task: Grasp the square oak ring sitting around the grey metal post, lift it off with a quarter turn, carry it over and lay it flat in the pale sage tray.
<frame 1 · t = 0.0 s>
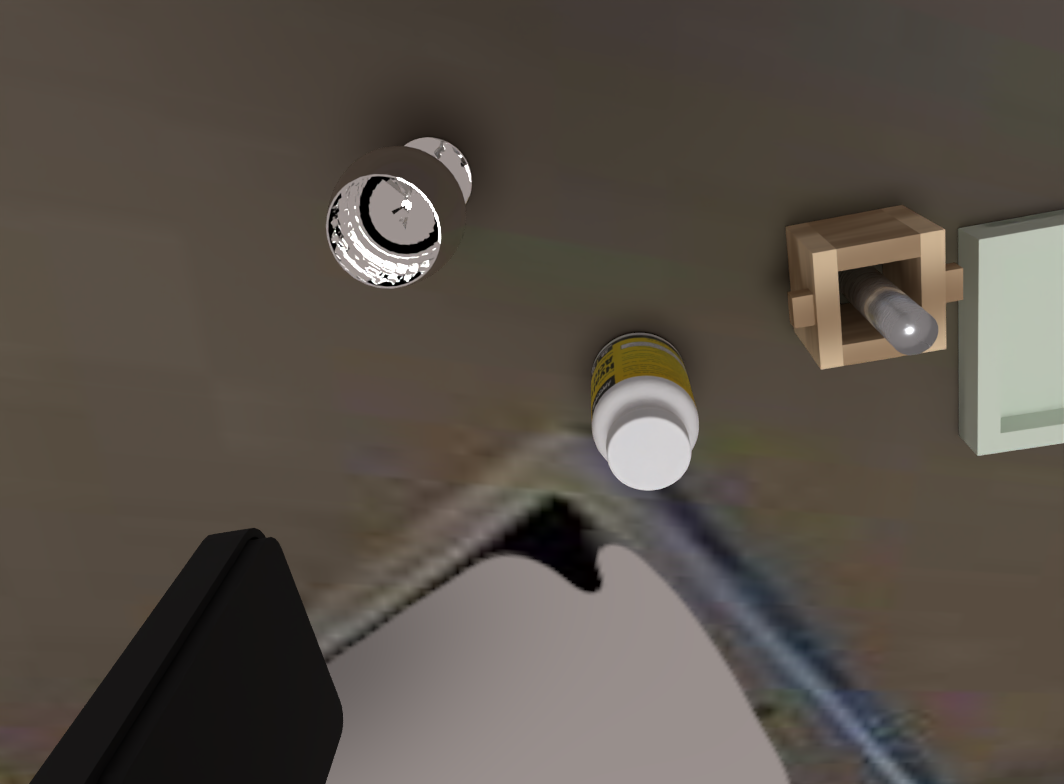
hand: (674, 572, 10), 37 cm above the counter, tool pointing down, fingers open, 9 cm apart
ring: (846, 270, 45), on the counter
supplement bottle: (636, 372, 49), on the counter
wineglass: (431, 179, 45), on the counter
post: (846, 270, 45), on the counter
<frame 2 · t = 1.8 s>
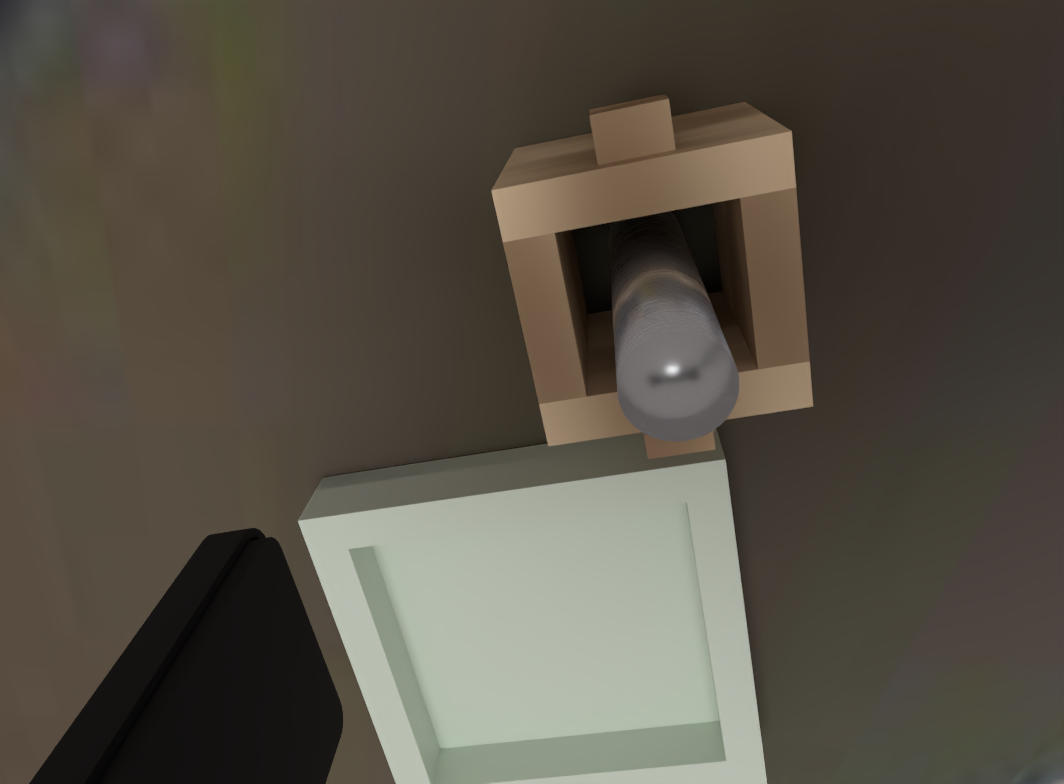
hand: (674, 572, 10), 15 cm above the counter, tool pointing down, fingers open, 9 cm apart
ring: (644, 237, 23), on the counter
tray: (550, 608, 28), on the counter
post: (644, 237, 23), on the counter
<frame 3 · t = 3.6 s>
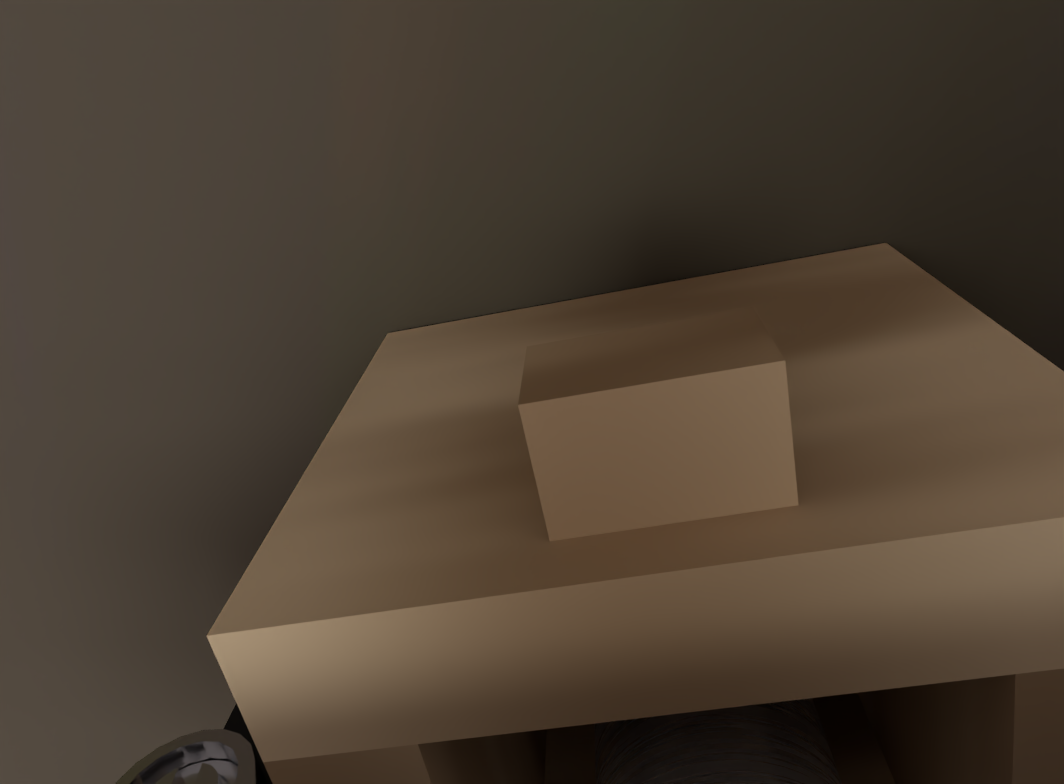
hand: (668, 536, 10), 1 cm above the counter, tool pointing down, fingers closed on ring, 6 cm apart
ring: (662, 502, 11), on the counter, touching gripper
post: (663, 502, 11), on the counter
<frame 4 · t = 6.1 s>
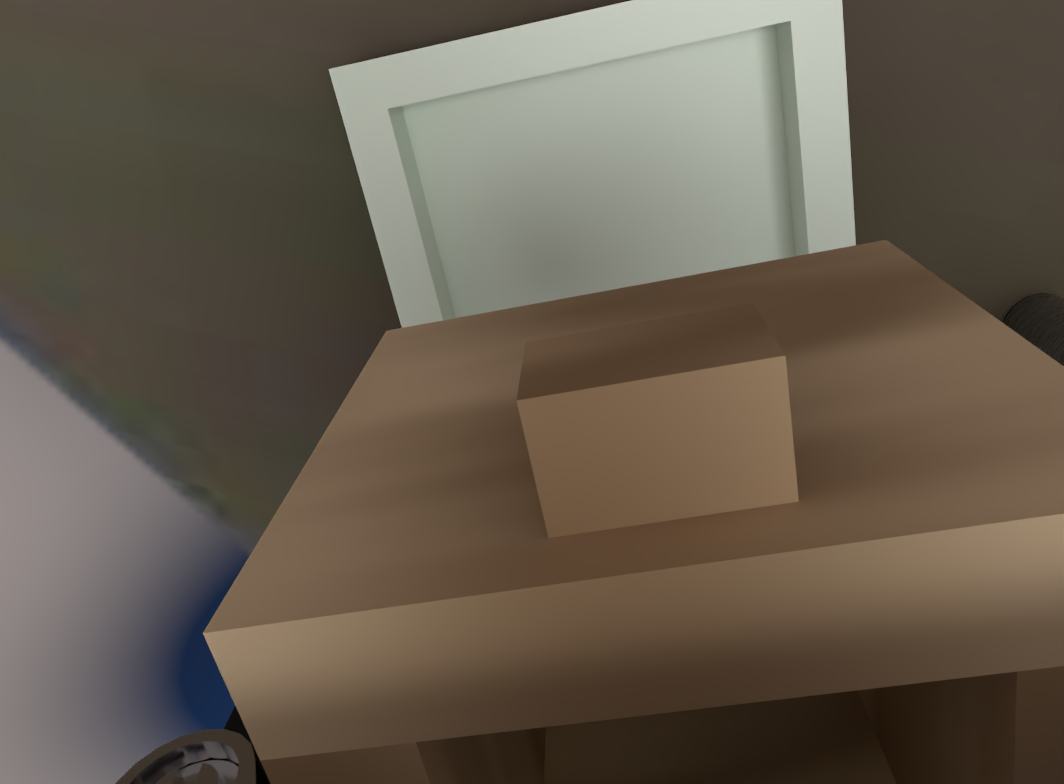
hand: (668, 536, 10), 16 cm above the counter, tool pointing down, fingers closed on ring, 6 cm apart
ring: (662, 500, 11), point 15 cm above the counter, touching gripper
tray: (613, 239, 25), on the counter
post: (1037, 325, 25), on the counter
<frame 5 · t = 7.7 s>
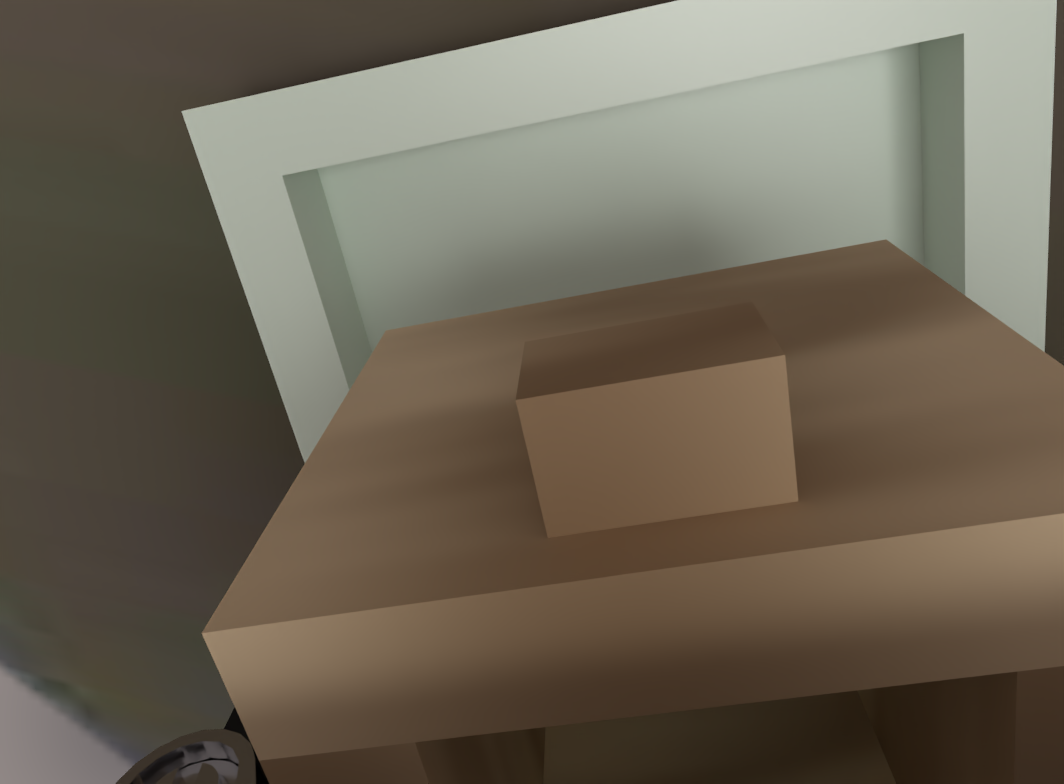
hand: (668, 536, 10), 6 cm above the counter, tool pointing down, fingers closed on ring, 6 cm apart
ring: (662, 500, 11), point 6 cm above the counter, touching gripper
tray: (644, 360, 16), on the counter
when the fingers open (3 cm above the counter, at t = 9.0 s): ring stays where it is, resting on tray.
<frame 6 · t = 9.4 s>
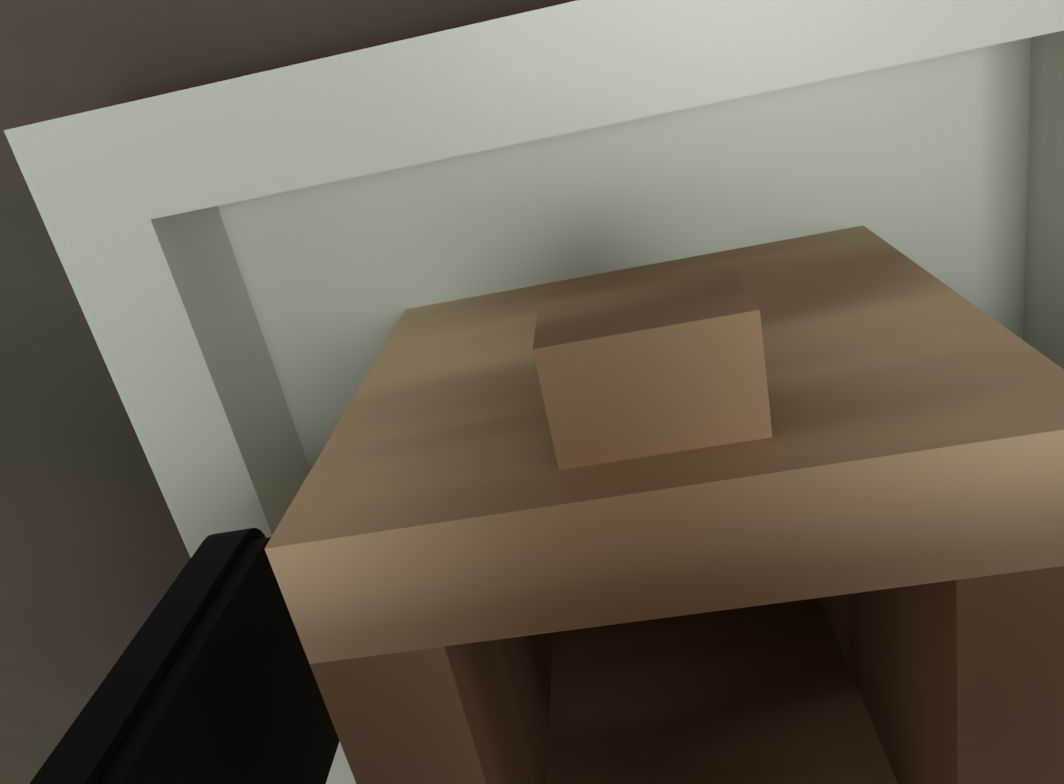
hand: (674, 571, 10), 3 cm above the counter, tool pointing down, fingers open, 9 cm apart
ring: (659, 467, 12), point 1 cm above the counter, touching tray
tray: (651, 441, 13), on the counter
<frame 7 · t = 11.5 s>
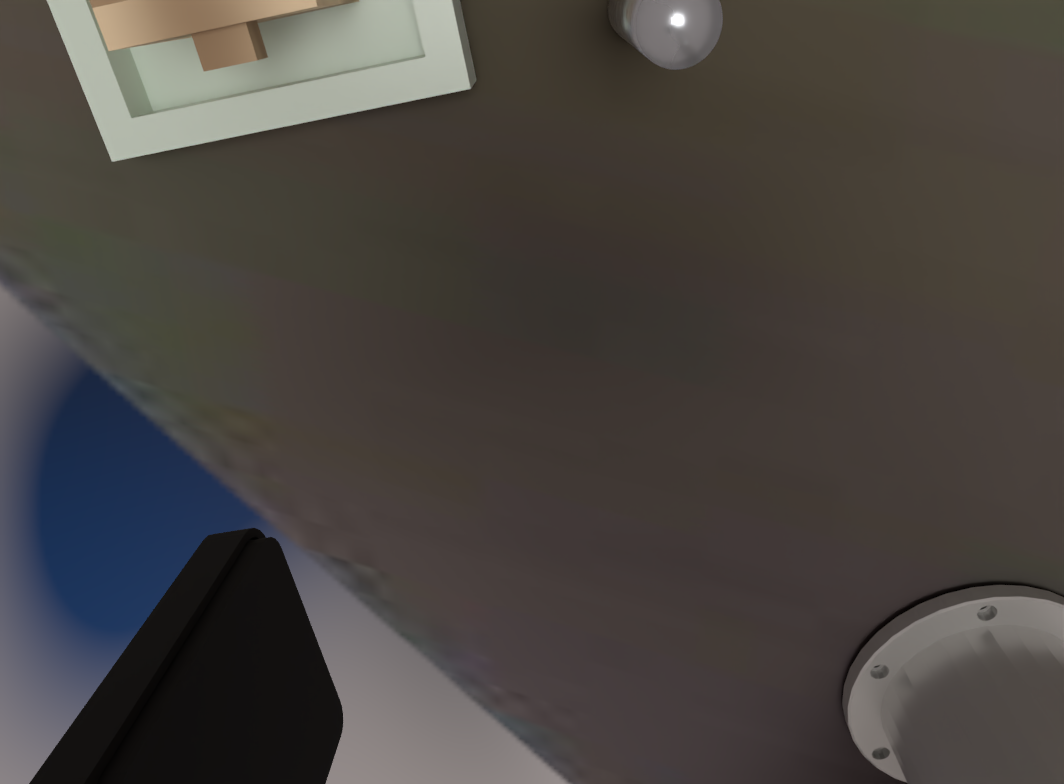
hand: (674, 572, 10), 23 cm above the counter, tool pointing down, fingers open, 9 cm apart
post: (637, 8, 28), on the counter
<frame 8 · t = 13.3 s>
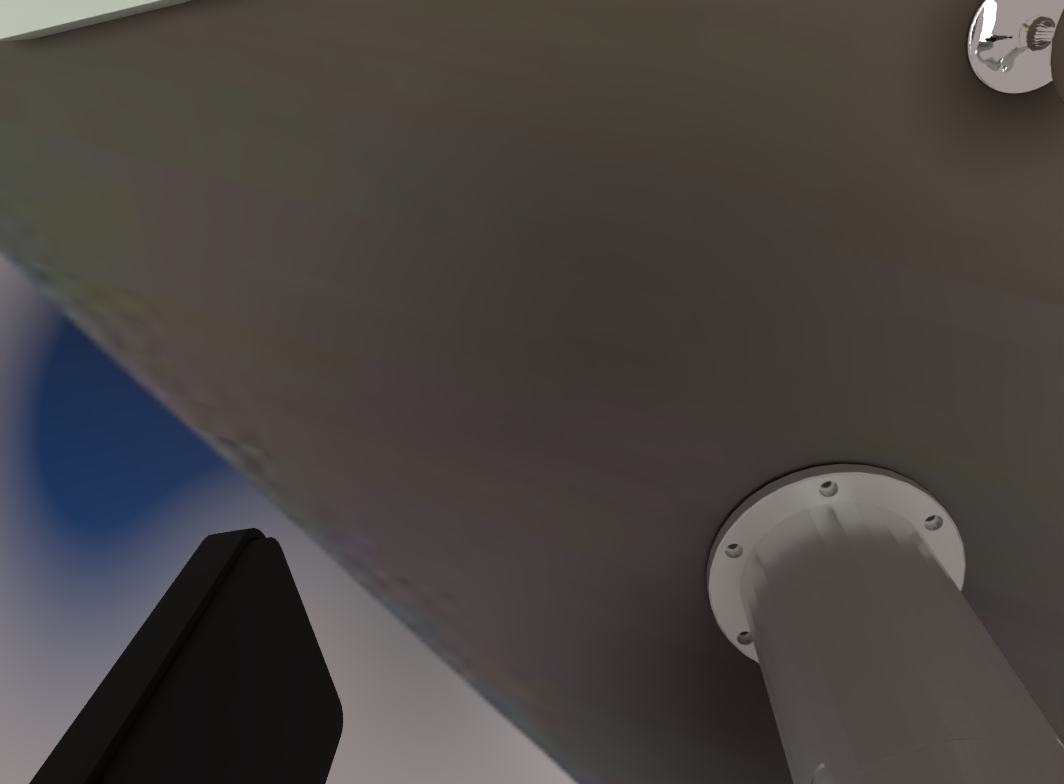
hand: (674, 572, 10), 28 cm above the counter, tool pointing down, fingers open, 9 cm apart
wineglass: (1023, 33, 33), on the counter
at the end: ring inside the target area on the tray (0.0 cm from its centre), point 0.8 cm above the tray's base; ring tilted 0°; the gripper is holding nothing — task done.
